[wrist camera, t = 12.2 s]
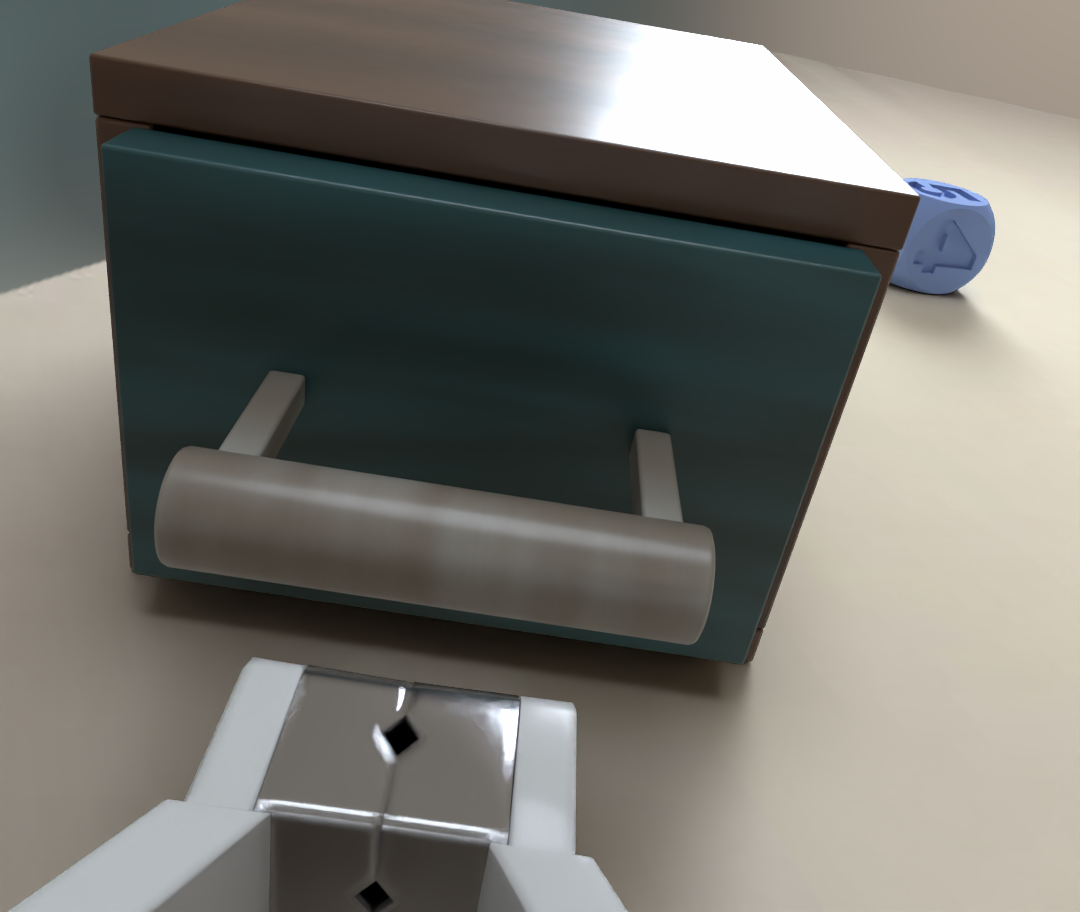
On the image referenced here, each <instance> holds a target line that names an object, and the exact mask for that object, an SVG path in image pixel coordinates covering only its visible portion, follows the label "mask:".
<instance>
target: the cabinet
mask: <svg viewBox="0 0 1080 912" xmlns="http://www.w3.org/2000/svg"><path fill="white" fill-rule="evenodd" d="M90 71H91V84H92V96H93V109H94V113H95V114H97V115H98V116H97V118H96V134H97V145H98V146H97V147H98V159H99V172H100V185H101V198H102V209H103V210H102V211H103V223H104V236H105V249H106V262H107V275H108V287H109V300H110V313H111V326H112V339H113V351H114V364H115V377H116V390H117V402H118V415H119V428H120V441H121V454H122V466H123V479H124V492H125V505H126V518H127V530H128V532H129V534H128V546H129V559H130V567H131V569H133V565H132V552H131V539H130V526H129V513H128V500H127V487H126V474H125V461H124V447H123V434H122V421H121V408H120V395H119V382H118V369H117V356H116V343H115V330H114V317H113V304H112V291H111V278H110V265H109V252H108V239H107V226H106V213H105V200H104V187H103V174H102V161H101V145H102V144H103V143H105V142H107V141H109V140H110V139H112V138H114V137H116V136H118V135H120V134H121V133H123V132H125V131H127V130H129V129H131V128H134V127H137V128H143V129H149V130H154V131H160V132H166V133H172V134H178V135H184V136H190V137H196V138H202V139H208V140H214V141H216V135H219V136H225V137H230V138H236V139H242V140H248V141H254V142H260V143H266V144H272V145H278V146H284V147H290V148H295V149H301V150H307V151H313V152H319V153H325V154H331V155H337V156H343V157H349V158H355V159H360V160H366V161H372V162H378V163H384V164H390V165H396V166H402V167H408V168H414V169H420V170H425V171H431V172H437V173H443V174H449V175H455V176H461V177H467V178H473V179H479V180H485V181H490V182H496V183H502V184H508V185H514V186H520V187H526V188H532V189H538V190H544V191H549V192H555V193H561V194H567V195H573V196H579V197H585V198H591V199H597V200H603V201H609V202H614V203H620V204H626V205H632V206H638V207H644V208H650V209H656V210H662V211H668V212H674V213H679V214H685V215H691V216H697V217H703V218H709V219H715V220H721V221H727V222H733V223H739V224H744V225H750V226H756V227H762V228H768V229H774V230H780V231H786V232H792V233H793V234H792V237H791V238H793V239H799V240H805V241H811V242H817V243H823V244H829V245H835V246H841V247H847V248H853V249H859V250H862V251H864V252H865V254H866V255H867V256H868V258H869V259H870V260H871V262H872V263H873V264H874V266H875V267H876V269H877V270H878V271H879V273H880V274H881V282H880V284H879V287H878V290H877V293H876V296H875V298H874V301H873V304H872V307H871V310H870V312H869V315H868V318H867V321H866V324H865V326H864V329H863V332H862V335H861V338H860V340H859V343H858V346H857V349H856V352H855V354H854V357H853V360H852V363H851V366H850V368H849V371H848V374H847V377H846V380H845V382H844V385H843V388H842V391H841V394H840V396H839V399H838V402H837V405H836V408H835V410H834V413H833V416H832V419H831V422H830V424H829V427H828V430H827V433H826V436H825V438H824V441H823V444H822V447H821V450H820V452H819V455H818V458H817V461H816V464H815V466H814V469H813V472H812V475H811V478H810V480H809V483H808V486H807V489H806V492H805V494H804V497H803V500H802V503H801V506H800V508H799V511H798V514H797V517H796V519H795V522H794V525H793V528H792V531H791V533H790V536H789V539H788V542H787V545H786V547H785V550H784V553H783V556H782V559H781V561H780V564H779V567H778V570H777V573H776V575H775V578H774V581H773V584H772V587H771V589H770V592H769V595H768V598H767V601H766V603H765V606H764V609H763V612H762V615H761V617H760V620H759V623H758V626H757V629H756V631H755V634H754V637H753V640H752V643H751V645H750V648H749V651H748V654H747V657H746V659H745V661H748V662H750V661H752V660H753V658H754V655H755V652H756V650H757V647H758V644H759V641H760V639H761V636H762V633H763V628H764V627H765V625H766V622H767V619H768V617H769V614H770V611H771V608H772V606H773V603H774V600H775V597H776V595H777V592H778V589H779V586H780V584H781V581H782V578H783V575H784V573H785V570H786V567H787V564H788V562H789V559H790V556H791V553H792V550H793V548H794V545H795V542H796V539H797V537H798V534H799V531H800V528H801V526H802V523H803V520H804V517H805V515H806V512H807V509H808V506H809V504H810V501H811V498H812V495H813V493H814V490H815V487H816V484H817V482H818V479H819V476H820V473H821V471H822V468H823V465H824V462H825V459H826V457H827V454H828V451H829V448H830V446H831V443H832V440H833V437H834V435H835V432H836V429H837V426H838V424H839V421H840V418H841V415H842V413H843V410H844V407H845V404H846V402H847V399H848V396H849V393H850V391H851V388H852V385H853V382H854V380H855V377H856V374H857V371H858V368H859V366H860V363H861V360H862V357H863V355H864V352H865V349H866V346H867V344H868V341H869V338H870V335H871V333H872V330H873V327H874V324H875V322H876V319H877V316H878V313H879V311H880V308H881V305H882V302H883V300H884V297H885V294H886V291H887V289H888V286H889V283H890V280H891V277H892V275H893V272H894V269H895V266H896V264H897V261H898V258H899V251H898V250H902V248H903V246H904V243H905V240H906V238H907V235H908V232H909V229H910V227H911V224H912V221H913V218H914V216H915V213H916V210H917V207H918V205H919V202H920V196H919V195H918V194H917V193H916V192H915V191H914V190H913V189H912V188H911V187H910V186H909V185H908V184H907V183H906V182H905V181H903V180H902V179H901V178H900V177H899V176H898V175H897V174H896V173H895V172H894V171H893V170H892V169H891V168H890V167H889V166H888V165H887V164H886V163H885V162H884V161H883V160H882V159H880V158H879V157H878V156H877V155H876V154H875V153H874V152H873V151H872V150H871V149H870V148H869V147H868V146H867V145H866V144H865V143H864V142H863V141H862V140H861V139H860V138H859V137H857V136H856V135H855V134H854V133H853V132H852V131H851V130H850V129H849V128H848V127H847V126H846V125H845V124H844V123H843V122H842V121H841V120H840V119H839V118H838V117H837V116H836V115H834V114H833V113H832V112H831V111H830V110H829V109H828V108H827V107H826V106H825V105H824V104H823V103H822V102H821V101H820V100H819V99H818V98H817V97H816V96H815V95H814V94H813V93H811V92H810V91H809V90H808V89H807V88H806V87H805V86H804V85H803V84H802V83H801V82H800V81H799V80H798V79H797V78H796V77H795V76H794V75H793V74H792V73H791V72H790V71H788V70H787V69H786V68H785V67H784V66H783V65H782V64H781V63H780V62H779V61H778V60H777V59H776V58H775V57H774V56H773V55H772V54H771V53H770V52H769V51H768V50H766V49H765V48H764V47H763V46H760V45H755V44H749V43H743V42H738V41H732V40H726V39H721V38H715V37H709V36H704V35H698V34H693V33H687V32H681V31H675V30H670V29H664V28H659V27H652V26H647V25H641V24H636V23H630V22H625V21H619V20H614V19H608V18H602V17H597V16H591V15H585V14H580V13H574V12H568V11H563V10H557V9H552V8H546V7H540V6H535V5H529V4H523V3H518V2H512V1H507V0H244V1H241V2H238V3H235V4H232V5H229V6H227V7H224V8H221V9H218V10H215V11H212V12H209V13H207V14H204V15H201V16H198V17H195V18H192V19H189V20H186V21H184V22H181V23H178V24H175V25H172V26H170V27H166V28H164V29H161V30H158V31H155V32H152V33H149V34H146V35H143V36H141V37H138V38H135V39H132V40H129V41H126V42H123V43H121V44H118V45H115V46H112V47H109V48H106V49H103V50H100V51H98V52H95V53H92V54H90Z"/></svg>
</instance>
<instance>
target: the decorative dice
mask: <svg viewBox="0 0 1080 912" xmlns="http://www.w3.org/2000/svg"><path fill="white" fill-rule="evenodd" d="M902 180H903V181H905V182H906V183H907V184H908V185H909V186H910V187H911V188H912V189H913V190H914V191H915V192H916V193H917V194H918V195H919V196H920V202H919V205H918V207H917V210H916V213H915V216H914V218H913V221H912V224H911V227H910V229H909V232H908V235H907V238H906V240H905V243H904V246H903V248H902V250H898V251H899V258H898V261H897V264H896V266H895V269H894V272H893V275H892V277H891V280H890V283H892V284H895V285H897V286H900V287H903V288H906V289H910V290H914V291H918V292H923V293H930V294H948V293H951V292H953V291H955V290H957V289H959V288H961V287H963V286H964V285H966V284H967V283H968V282H970V281H971V280H972V279H973V278H974V277H975V276H976V275H977V274H978V273H979V272H980V271H981V269H982V268H983V266H984V265H985V263H986V261H987V259H988V257H989V255H990V252H991V249H992V246H993V241H994V235H995V220H994V214H993V211H992V209H991V206H990V204H989V202H988V200H987V199H985V198H984V197H982V196H980V195H978V194H976V193H974V192H972V191H969V190H966V189H964V188H961V187H957V186H954V185H950V184H946V183H942V182H938V181H932V180H926V179H918V178H906V179H902Z"/></svg>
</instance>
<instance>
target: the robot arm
mask: <svg viewBox="0 0 1080 912" xmlns="http://www.w3.org/2000/svg"><path fill="white" fill-rule="evenodd" d="M576 728H577V711H576V709H575V707H574V704H573V703H570V702H563V701H555V700H548V699H540V698H532V697H525V696H521V697H520V699H519V697H518V696H516V695H508V694H501V693H493V692H486V691H478V690H471V689H463V688H456V687H448V686H441V685H433V684H426V683H418V682H414V683H412V682H406V681H400V680H394V679H389V678H383V677H377V676H371V675H365V674H359V673H353V672H347V671H341V670H335V669H329V668H323V667H317V666H311V665H308V666H303V665H298V664H292V663H286V662H280V661H274V660H269V659H263V658H257V657H252V658H251V660H250V661H249V662H248V663H247V664H246V665H245V666H244V668H243V669H242V671H241V673H240V675H239V678H238V680H237V682H236V684H235V687H234V689H233V691H232V693H231V696H230V698H229V700H228V702H227V705H226V707H225V709H224V712H223V714H222V716H221V718H220V721H219V723H218V725H217V727H216V730H215V732H214V734H213V736H212V739H211V741H210V743H209V745H208V748H207V750H206V752H205V755H204V757H203V759H202V761H201V764H200V766H199V768H198V770H197V773H196V775H195V777H194V779H193V782H192V784H191V786H190V789H189V791H188V793H187V795H186V798H185V800H184V801H179V800H169V799H166V800H164V801H163V802H162V803H160V804H159V805H157V806H156V807H155V808H153V809H152V810H150V811H149V812H148V813H146V814H145V815H143V816H142V817H140V818H139V819H138V820H136V821H135V822H133V823H132V824H131V825H129V826H128V827H126V828H125V829H123V830H122V831H121V832H119V833H118V834H116V835H115V836H114V837H112V838H111V839H109V840H108V841H107V842H105V843H104V844H102V845H101V846H99V847H98V848H97V849H95V850H94V851H92V852H91V853H90V854H88V855H87V856H85V857H84V858H82V859H81V860H80V861H78V862H77V863H75V864H74V865H73V866H71V867H70V868H68V869H67V870H66V871H64V872H63V873H61V874H60V875H58V876H57V877H56V878H54V879H53V880H51V881H50V882H49V883H47V884H46V885H44V886H43V887H41V888H40V889H39V890H37V891H36V892H34V893H33V894H32V895H30V896H29V897H27V898H26V899H25V900H23V901H22V902H20V903H19V904H17V905H16V906H15V907H13V908H12V909H10V910H9V911H8V912H628V911H627V909H626V908H625V906H624V905H623V903H622V902H621V900H620V899H619V897H618V896H617V894H616V893H615V891H614V890H613V888H612V887H611V885H610V884H609V882H608V881H607V879H606V878H605V876H604V875H603V873H602V872H601V870H600V868H599V867H598V865H597V864H596V862H595V861H594V859H593V858H592V857H587V856H581V855H576V854H575V831H576Z"/></svg>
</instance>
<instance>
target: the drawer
mask: <svg viewBox="0 0 1080 912" xmlns="http://www.w3.org/2000/svg"><path fill="white" fill-rule="evenodd" d="M101 161H102V174H103V187H104V200H105V213H106V226H107V239H108V252H109V265H110V278H111V291H112V304H113V317H114V330H115V343H116V356H117V369H118V382H119V395H120V408H121V421H122V434H123V447H124V461H125V474H126V487H127V500H128V513H129V526H130V539H131V552H132V565H133V572H134V573H136V574H141V575H148V576H155V577H161V578H168V579H175V580H181V581H188V582H195V583H201V584H208V585H215V586H221V587H228V588H235V589H242V590H248V591H255V592H262V593H268V594H275V595H282V596H288V597H295V598H302V599H308V600H315V601H322V602H328V603H335V604H342V605H348V606H355V607H362V608H368V609H375V610H382V611H389V612H395V613H402V614H409V615H415V616H422V617H429V618H435V619H442V620H449V621H455V622H462V623H469V624H475V625H482V626H489V627H495V628H502V629H509V630H515V631H522V632H529V633H536V634H542V635H549V636H556V637H562V638H569V639H576V640H582V641H589V642H596V643H602V644H609V645H616V646H622V647H629V648H636V649H642V650H649V651H656V652H662V653H669V654H676V655H683V656H689V657H696V658H703V659H709V660H716V661H723V662H729V663H736V664H743V663H744V662H745V659H746V657H747V654H748V651H749V648H750V645H751V643H752V640H753V637H754V634H755V631H756V629H757V626H758V623H759V620H760V617H761V615H762V612H763V609H764V606H765V603H766V601H767V598H768V595H769V592H770V589H771V587H772V584H773V581H774V578H775V575H776V573H777V570H778V567H779V564H780V561H781V559H782V556H783V553H784V550H785V547H786V545H787V542H788V539H789V536H790V533H791V531H792V528H793V525H794V522H795V519H796V517H797V514H798V511H799V508H800V506H801V503H802V500H803V497H804V494H805V492H806V489H807V486H808V483H809V480H810V478H811V475H812V472H813V469H814V466H815V464H816V461H817V458H818V455H819V452H820V450H821V447H822V444H823V441H824V438H825V436H826V433H827V430H828V427H829V424H830V422H831V419H832V416H833V413H834V410H835V408H836V405H837V402H838V399H839V396H840V394H841V391H842V388H843V385H844V382H845V380H846V377H847V374H848V371H849V368H850V366H851V363H852V360H853V357H854V354H855V352H856V349H857V346H858V343H859V340H860V338H861V335H862V332H863V329H864V326H865V324H866V321H867V318H868V315H869V312H870V310H871V307H872V304H873V301H874V298H875V296H876V293H877V290H878V287H879V284H880V282H881V274H880V273H879V271H878V270H877V269H876V267H875V266H874V264H873V263H872V262H871V260H870V259H869V258H868V256H867V255H866V254H865V252H864V251H862V250H859V249H853V248H847V247H841V246H835V245H829V244H823V243H817V242H811V241H805V240H799V239H793V238H791V237H792V234H793V233H792V232H786V231H780V230H774V229H768V228H762V227H756V226H750V225H744V224H739V223H733V222H727V221H721V220H715V219H709V218H703V217H697V216H691V215H685V214H679V213H674V212H668V211H662V210H656V209H650V208H644V207H638V206H632V205H626V204H620V203H614V202H609V201H603V200H597V199H591V198H585V197H579V196H573V195H567V194H561V193H555V192H549V191H544V190H538V189H532V188H526V187H520V186H514V185H508V184H502V183H496V182H490V181H485V180H479V179H473V178H467V177H461V176H455V175H449V174H443V173H437V172H431V171H425V170H420V169H414V168H408V167H402V166H396V165H390V164H384V163H378V162H372V161H366V160H360V159H355V158H349V157H343V156H337V155H331V154H325V153H319V152H313V151H307V150H301V149H295V148H290V147H284V146H278V145H272V144H266V143H260V142H254V141H248V140H242V139H236V138H230V137H225V136H219V135H216V141H214V140H208V139H202V138H196V137H190V136H184V135H178V134H172V133H166V132H160V131H154V130H149V129H143V128H137V127H134V128H131V129H129V130H127V131H125V132H123V133H121V134H120V135H118V136H116V137H114V138H112V139H110V140H109V141H107V142H105V143H103V144H102V145H101Z"/></svg>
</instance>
